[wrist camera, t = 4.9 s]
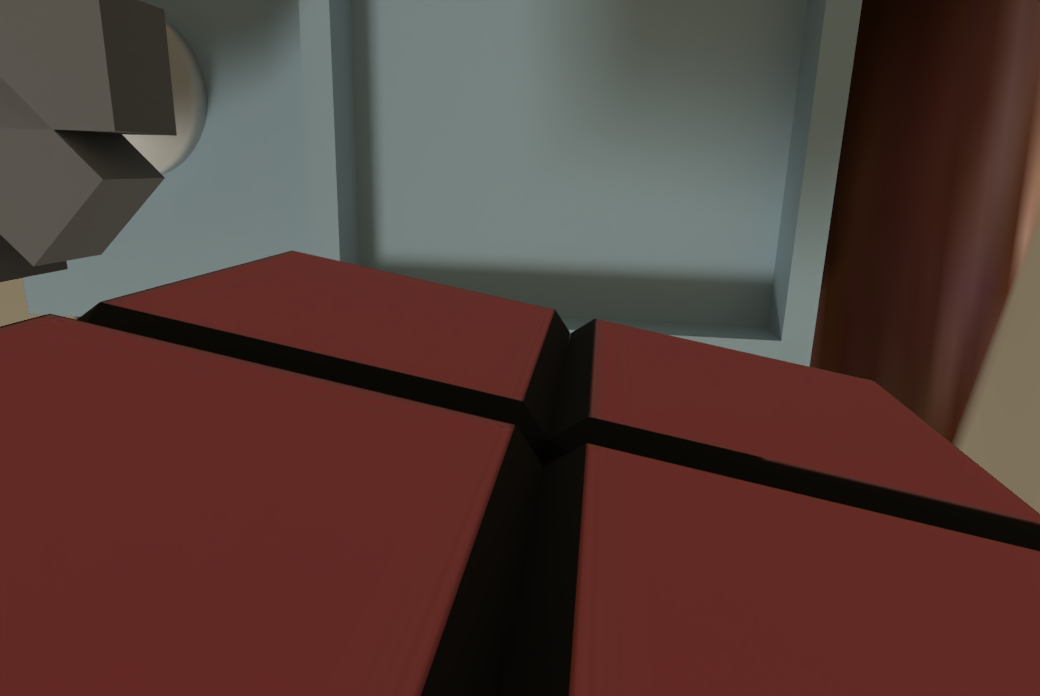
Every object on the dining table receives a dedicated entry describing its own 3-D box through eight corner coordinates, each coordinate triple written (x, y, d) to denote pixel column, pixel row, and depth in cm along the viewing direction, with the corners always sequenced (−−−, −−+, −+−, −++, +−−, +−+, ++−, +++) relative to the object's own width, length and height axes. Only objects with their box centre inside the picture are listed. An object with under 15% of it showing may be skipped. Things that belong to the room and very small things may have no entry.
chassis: (56, 306, 29) (-140, 356, 21) (-15, -155, 25) (-295, -301, 17) (781, 345, 26) (857, 420, 18) (850, -174, 21) (989, -364, 14)
